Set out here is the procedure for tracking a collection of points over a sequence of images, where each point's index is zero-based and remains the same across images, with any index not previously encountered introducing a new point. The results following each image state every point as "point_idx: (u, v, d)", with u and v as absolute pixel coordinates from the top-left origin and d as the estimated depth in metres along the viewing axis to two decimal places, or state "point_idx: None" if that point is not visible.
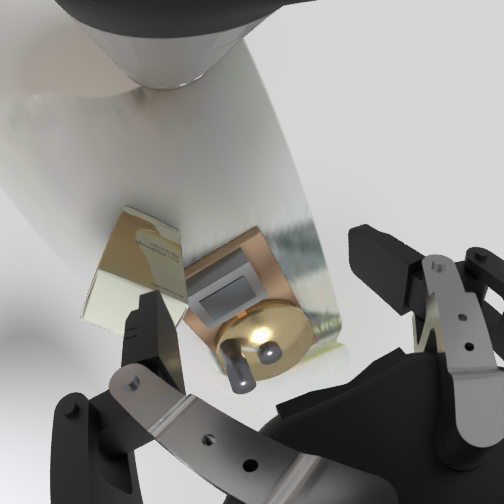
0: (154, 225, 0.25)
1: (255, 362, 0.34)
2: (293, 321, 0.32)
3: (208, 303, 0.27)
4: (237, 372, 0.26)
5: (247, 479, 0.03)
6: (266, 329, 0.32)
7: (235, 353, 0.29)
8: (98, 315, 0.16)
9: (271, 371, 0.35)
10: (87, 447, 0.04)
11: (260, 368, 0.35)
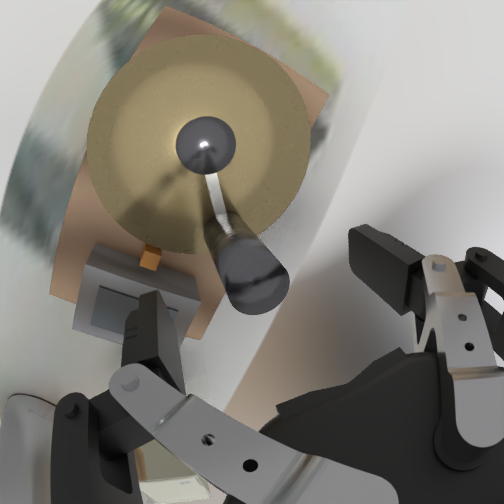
0: None
1: (249, 146, 0.14)
2: (108, 151, 0.12)
3: None
4: None
5: (247, 479, 0.03)
6: (153, 193, 0.14)
7: None
8: (195, 498, 0.14)
9: (267, 85, 0.13)
10: (87, 447, 0.04)
11: (265, 118, 0.14)
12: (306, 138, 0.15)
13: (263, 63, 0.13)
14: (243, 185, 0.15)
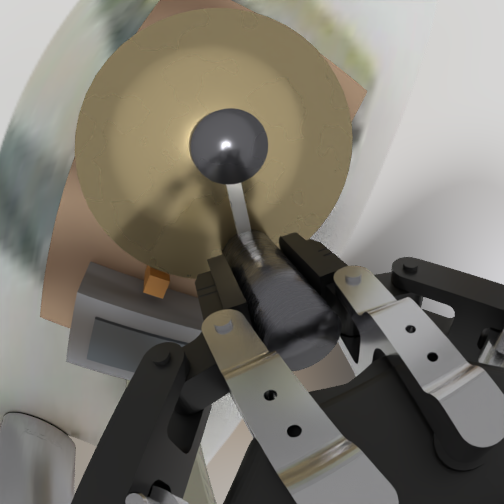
0: None
1: (281, 149, 0.11)
2: (101, 152, 0.09)
3: None
4: None
5: (285, 442, 0.04)
6: (159, 206, 0.11)
7: None
8: None
9: (303, 74, 0.10)
10: (165, 401, 0.05)
11: (300, 114, 0.11)
12: (347, 142, 0.12)
13: (299, 47, 0.10)
14: (272, 197, 0.12)
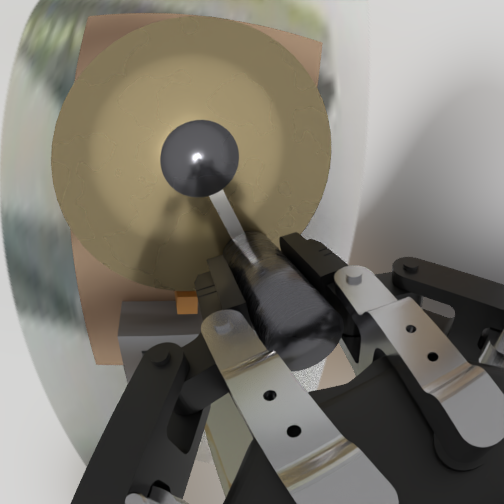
0: None
1: (255, 145, 0.11)
2: (82, 193, 0.10)
3: None
4: None
5: (284, 442, 0.04)
6: (150, 230, 0.11)
7: None
8: None
9: (259, 64, 0.10)
10: (164, 401, 0.05)
11: (267, 105, 0.11)
12: (323, 120, 0.11)
13: (248, 38, 0.09)
14: (258, 195, 0.12)
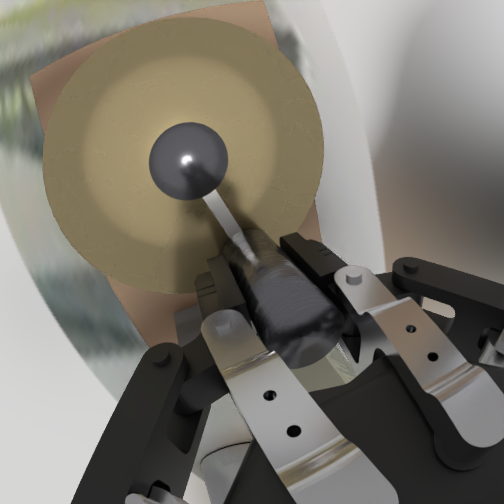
0: None
1: (245, 142, 0.11)
2: (76, 206, 0.10)
3: None
4: None
5: (284, 442, 0.04)
6: (146, 236, 0.11)
7: None
8: None
9: (242, 59, 0.09)
10: (164, 401, 0.05)
11: (253, 101, 0.10)
12: (312, 110, 0.11)
13: (227, 34, 0.09)
14: (252, 191, 0.12)
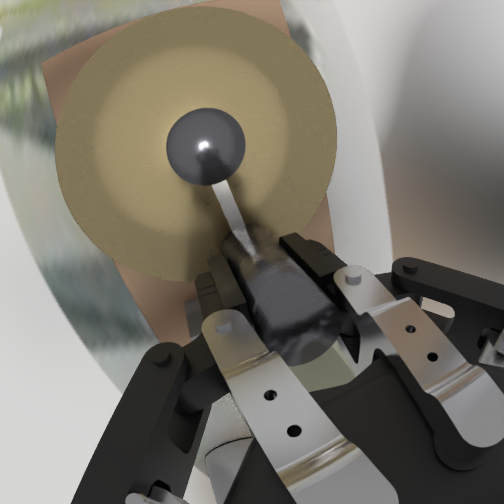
0: None
1: (262, 138, 0.11)
2: (83, 175, 0.09)
3: None
4: None
5: (284, 442, 0.04)
6: (150, 217, 0.11)
7: None
8: None
9: (271, 58, 0.10)
10: (165, 400, 0.06)
11: (276, 100, 0.10)
12: (330, 119, 0.11)
13: (262, 32, 0.09)
14: (261, 188, 0.12)
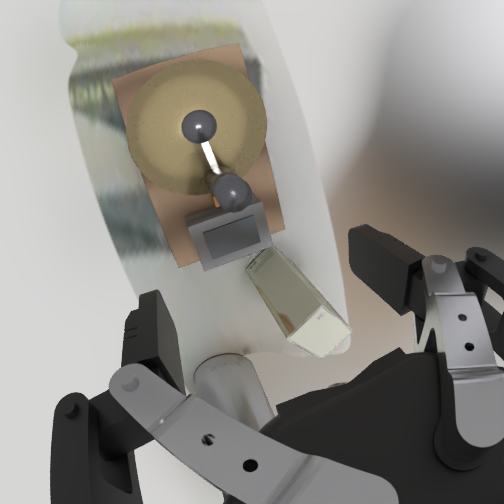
0: None
1: (226, 123, 0.22)
2: (140, 138, 0.21)
3: (252, 239, 0.27)
4: None
5: (247, 479, 0.03)
6: (171, 159, 0.23)
7: None
8: (340, 334, 0.25)
9: (231, 84, 0.21)
10: (87, 447, 0.04)
11: (233, 105, 0.22)
12: (263, 113, 0.23)
13: (227, 71, 0.20)
14: (226, 147, 0.23)
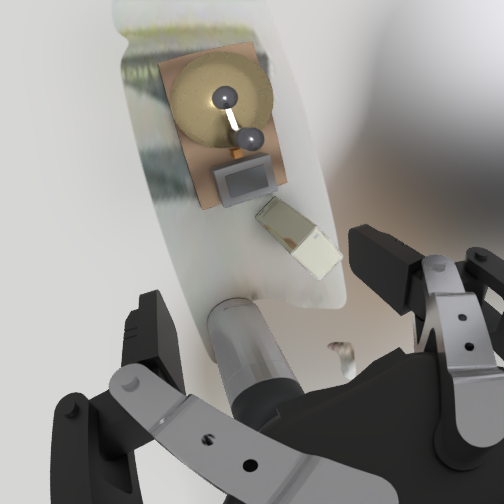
0: None
1: (244, 97, 0.30)
2: (181, 104, 0.28)
3: (262, 183, 0.34)
4: (243, 148, 0.28)
5: (247, 479, 0.03)
6: (203, 121, 0.30)
7: (235, 144, 0.30)
8: (334, 258, 0.33)
9: (248, 70, 0.29)
10: (87, 447, 0.04)
11: (249, 84, 0.29)
12: (270, 91, 0.30)
13: (245, 61, 0.28)
14: (243, 114, 0.31)
